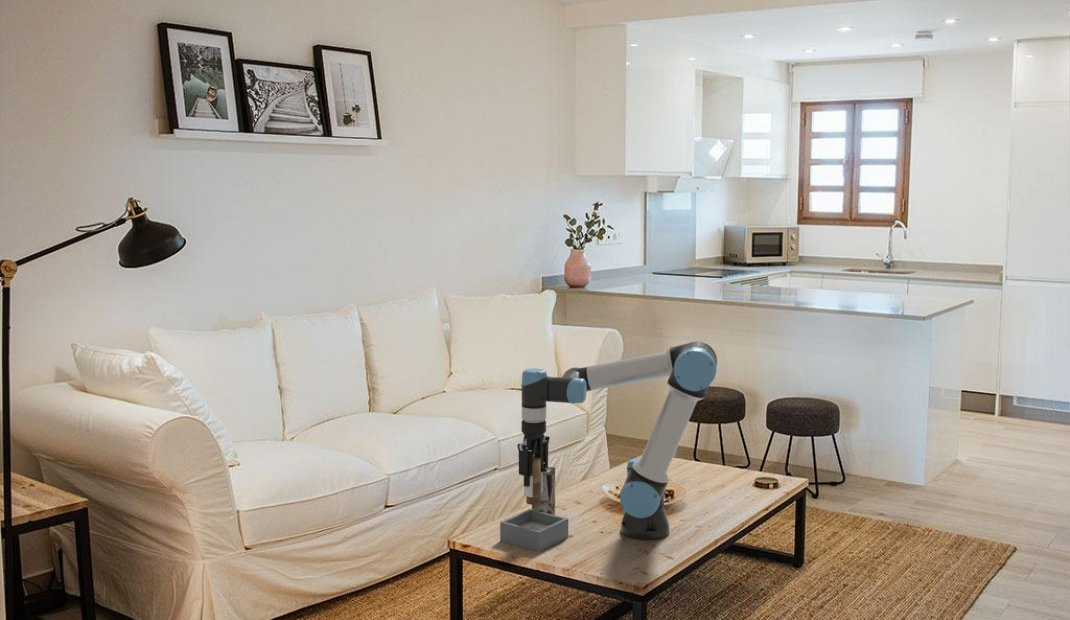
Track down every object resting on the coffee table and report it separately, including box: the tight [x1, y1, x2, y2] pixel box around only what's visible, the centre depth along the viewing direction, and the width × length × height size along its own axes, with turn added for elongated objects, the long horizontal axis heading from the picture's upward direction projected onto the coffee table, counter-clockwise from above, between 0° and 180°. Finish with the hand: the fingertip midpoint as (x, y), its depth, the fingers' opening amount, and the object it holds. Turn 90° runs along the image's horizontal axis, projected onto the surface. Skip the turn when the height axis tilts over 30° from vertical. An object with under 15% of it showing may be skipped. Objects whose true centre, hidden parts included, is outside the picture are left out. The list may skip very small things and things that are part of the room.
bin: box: [499, 508, 569, 552], centre depth 311 cm, size 15×15×6 cm
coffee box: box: [531, 466, 556, 515], centre depth 329 cm, size 9×6×16 cm
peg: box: [525, 456, 541, 506], centre depth 309 cm, size 4×4×14 cm
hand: (533, 493), depth 309 cm, fingers closed on peg, 4 cm apart
